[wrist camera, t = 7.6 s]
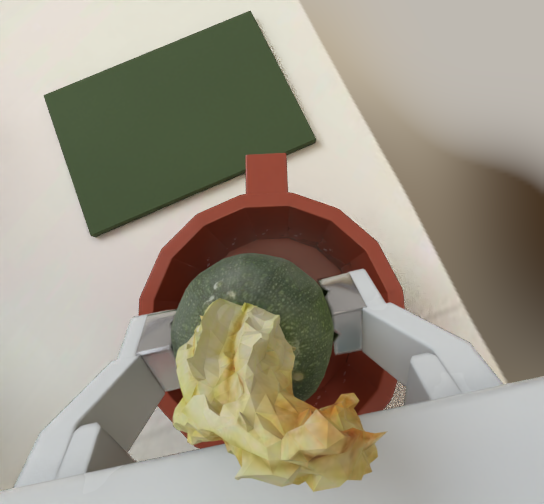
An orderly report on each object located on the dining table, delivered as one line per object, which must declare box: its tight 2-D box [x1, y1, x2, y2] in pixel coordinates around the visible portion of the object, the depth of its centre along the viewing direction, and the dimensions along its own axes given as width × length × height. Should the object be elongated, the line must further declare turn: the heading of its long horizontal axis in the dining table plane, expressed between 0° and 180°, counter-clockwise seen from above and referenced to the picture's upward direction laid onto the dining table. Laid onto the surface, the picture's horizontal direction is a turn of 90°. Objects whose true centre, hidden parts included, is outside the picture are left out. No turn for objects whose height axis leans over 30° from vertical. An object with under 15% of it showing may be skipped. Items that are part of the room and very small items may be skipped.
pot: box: [139, 153, 405, 449], centre depth 20 cm, size 14×19×8 cm
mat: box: [44, 11, 316, 237], centre depth 27 cm, size 20×14×1 cm
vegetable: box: [171, 253, 388, 492], centre depth 12 cm, size 4×4×20 cm
